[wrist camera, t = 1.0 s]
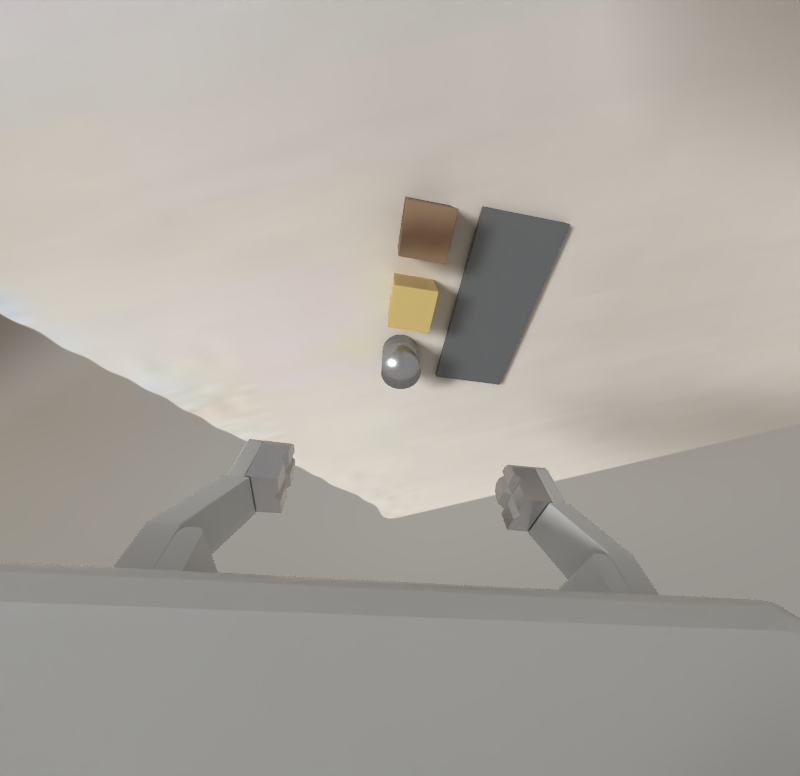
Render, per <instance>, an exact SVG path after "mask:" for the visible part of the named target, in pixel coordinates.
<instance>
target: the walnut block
mask: <svg viewBox="0 0 800 776" xmlns="http://www.w3.org/2000/svg"><path fill="white" fill-rule="evenodd" d="M457 214H458V209H457V208H454V207H452V206H450V205H445V204H440V203H435V202H429V201H424V200H419V199H414V198H409V197H405V203H404V209H403V216H402V223H401V230H400V237H399V243H398V254H399V256H402V257H408V258H414V259H419V260H425V261H431V262H437V263H443V264H446V259H447V255H448V251H449V247H450V243H451V239H452V234H453V230H454V226H455V222H456V218H457Z"/></svg>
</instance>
